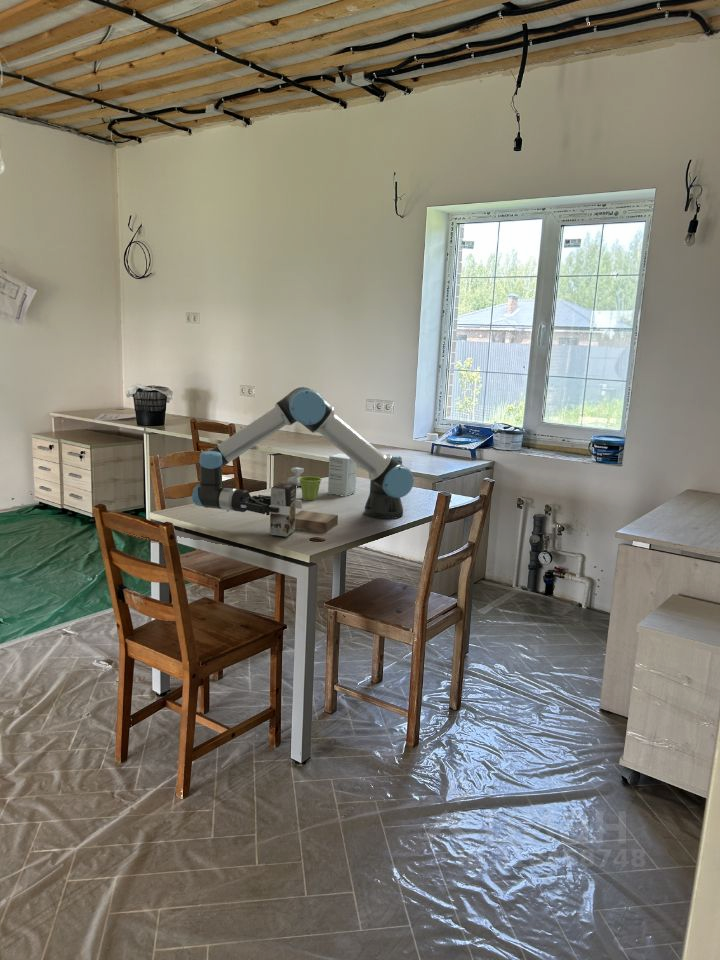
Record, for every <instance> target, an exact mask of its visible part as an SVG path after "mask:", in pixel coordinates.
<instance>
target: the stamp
mask: <svg viewBox="0 0 720 960" xmlns="http://www.w3.org/2000/svg"><path fill="white" fill-rule="evenodd" d="M304 471H305V468H303V467H297V466H296V467H292V468H291V473H293V474H294V476H291V477H290V476H289V477H288V478H287V479H286V480H287V484H296V486H301V483H300V480H299V478H301V477H302V476H301V474H303V473H304Z"/></svg>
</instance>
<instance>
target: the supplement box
mask: <svg viewBox="0 0 720 960" xmlns="http://www.w3.org/2000/svg"><path fill="white" fill-rule="evenodd" d="M328 459H329V460H328V482H327V483H328V485H327V486H328V487H327V494H328V493H329V494H328V495H332V494H336V495H335V496H338V495H343V496H342V497H344V496H347V495H349V496H351V495H350V494H352V493H354V494H356V489H357V488H356V486H357V484H356V483H357V468H358V467H357V466H358V464H357V463H356V462H354V461H353V460H352V459H351V458H350V457H348V456H347V455H346V454H345V453H337V454H333V455H329V458H328ZM352 495H353V494H352ZM347 497H348V496H347Z"/></svg>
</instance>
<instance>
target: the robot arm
mask: <svg viewBox="0 0 720 960" xmlns="http://www.w3.org/2000/svg"><path fill="white" fill-rule="evenodd" d="M297 422H298V423H299V424H301V425H302V426H303V427H304V428H306V430H309V432H311V433H312V434H314V433H319V434H321V436H323V437H324V438H325V439H326V440H327V441H329V442H330V443H331V444H333V445H334V446H335V447H336V448H337V449H338V450H340V451H341V453H342V454H346V455H347V456H348V457H350V458H351V459H352V460H353V461H354V462H356V463H357V466H359V467H361V468H362V469H363V470H364V471H365V472H366V473H368V478H369V480H370V484H369V495H368V497H367V500H366V502H365V505H364V510H363V512H364V514H365V515H366V514H367V515H366V516H368V515H370V516H369V517H371V516H373V517H372V518H376V517H378V518H377V519H397V518H396V517H398V518H401V517H403V516H404V507H403V503H402V499H401V498H403V497H405V496H407V495H408V494H409V493H410V492H411V491H412V489H413V487H414V483H415V482H414V481H415V478H414V475H413V473H412V470H410V468H408V467H406V466H405V465H403V458H402V456H400V455H391V454H383V453H382V452H381V451H380V450H379V449H377V448H376V447H375V446H374V445H373V444H372V443H370V442H369V441H368V440H367V439H366V438H364V436H362V435H361V434H360V433H358V432H357V431H356V430H354V429H353V428H352V427H351V426H350V425H349V424H348V423H347V422H345V421H344V420H343V419H341V417H339V416H338V415H336V413H335V410H334V405H332V404H330V403H329V402H328V401H327V400H326V399H324V398H323V397H322V395H321V394H320V393H318V392H317V391H316V390H313V389H311V388H308V387H304V386H302V387H296V388H295V389H293V390H292V391H290V392H289V393H288V394H286V396H284V397H282V399H280V400H279V401H277V402H275V406H274V407H273V408H272V409H270V410H269V411H267V412H265V413H264V414H262V415H261V416H260V417H258V418H257V419H255V420H254V421H253V422H251V423H250V424H247V425H246V426H245V427H243V428H241V429H240V430H238V431H236V432H235V433H234V434H232V435H231V436H229V437H228V438H227V439H225V440H224V441H222V442H220V443H219V444H217V446H215V447H213V448H211V449H210V450H209V449H208V450H207V451H202V452H200V454H199V461H198V462H199V484H196V485H195V487H193V489H192V493H191V499H192V502H193V503H194V505H195V506H198V507H203V508H206V509H207V508H210V509H216V510H217V509H218V510H223V511H224V510H226V512H230V511H235V512H239V513H245V512H247V511H248V512H252V513H256V514H261V515H265V514H266V516H270V513H274V514H282V515H289V514H290V507H287V506H279V505H271V495H262V494H258V495H252V496H251V495H250V492H249V491H248V490H246V489H237V488H230V487H223V475H222V474H223V467H225V466H227V465H228V464H230V462H232V461H233V460H235V459H237V458H238V457H240V456H241V455H243V454H244V453H246V452H248V451H249V450H250V449H252V448H254V447H255V446H257V445H258V444H259V443H262V442H263V441H264V440H266V439H268V437H270V436H272V435H274V434H275V433H276V432H278V431H279V430H281V429H282V428H284V427H285V426H292V425H293V424H295V423H297ZM296 509H298V510H299V509H300V510H302V509H303V500H301V499H296ZM402 515H403V516H402ZM400 516H401V517H400Z"/></svg>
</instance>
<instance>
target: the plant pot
mask: <svg viewBox="0 0 720 960" xmlns="http://www.w3.org/2000/svg"><path fill="white" fill-rule="evenodd" d="M322 479H323V478H321V477H318V476H301V478H299V480H300V483H301V487H300V488H301V498H302V499H303V500H304V501H309V500H310V501H316V500H318V495H319V490H320V484H321V482H322Z"/></svg>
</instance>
